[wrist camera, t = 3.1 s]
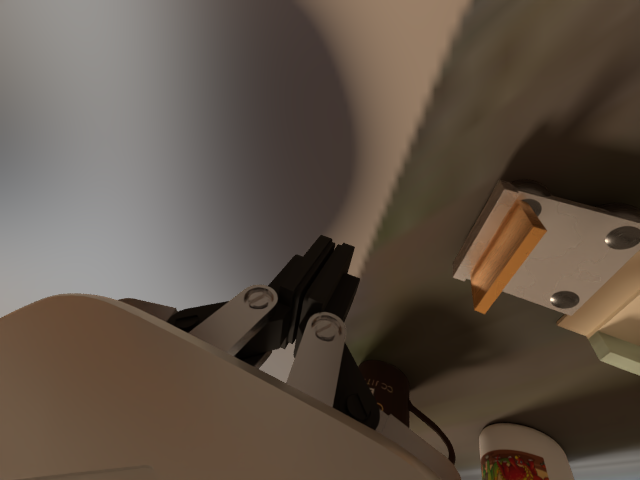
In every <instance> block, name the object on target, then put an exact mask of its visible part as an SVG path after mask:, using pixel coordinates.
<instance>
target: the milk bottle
mask: <svg viewBox="0 0 640 480" xmlns="http://www.w3.org/2000/svg"><path fill="white" fill-rule="evenodd" d="M479 446H480V459H481V471H482V480H574V477H573V474H572V471H571V468H570V465H569V462H568V460H567V457H566V454H565V452H564V451H563V450H562V448H561V447H560V446H559V445H558V444H557V443H556V442H555V440H553V439H552V438H550V437H549V436H547V435H546V434H544V433H542V432H540V431H537V430H535V429H533V428H529V427H526V426H523V425H518V424H510V423H498V424H492V425H489V426H487V427H485V428H484V429H483V430H482V432H481V434H480V437H479Z"/></svg>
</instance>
